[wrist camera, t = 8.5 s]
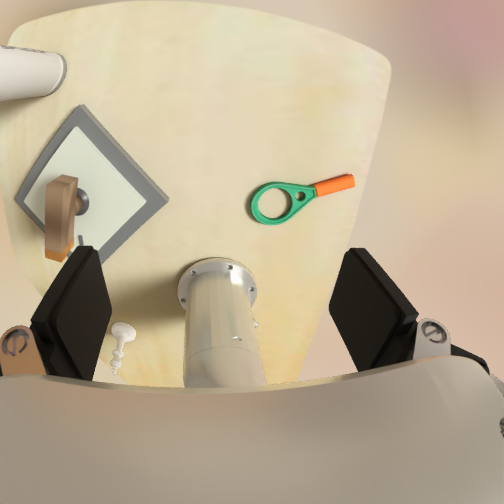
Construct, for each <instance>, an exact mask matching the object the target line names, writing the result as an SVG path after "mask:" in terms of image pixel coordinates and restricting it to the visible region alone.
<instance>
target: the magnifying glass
mask: <svg viewBox="0 0 504 504" xmlns="http://www.w3.org/2000/svg"><path fill="white" fill-rule="evenodd" d="M352 187H355V181H354V177H353V175H351V174H350V175H346V176H342V177H339V178H335V179H331V180H328V181H324V182H320V183H317V184H314V185H311V186H305V185H299V184H292V183H284V182H270V183H267V184H265V185H263V186H261V187H260V188H259V189H258V190H256V192H255V193H254V194H253V196H252V198H251V203H250V207H251V211H252V214H253V216H254V217H255V219H256V220H258V221H259V222H261V223H263V224H266V225H278V224H282V223H284V222H286V221H288V220H289V219H291V218H292V217H293V216H294V215H295V214H296V213H298V212H299V211H300V210H301V209H302V208H303V207H305V206H306V205H307V204H308V203H309V202H310V201H312V200H313V199H315V198H316V197H320V196H324V195H327V194H330V193H334V192H337V191H341V190H345V189H348V188H352ZM271 188H281V189H284V190H285V191H287V192H288V193H289V195H290V197H291V205H290V208H289V210H288V211H287V213H285V214H284V215H283V216H281V217H279V218H268V217H265V216H264V215H262V214H261V213H260V211H259V209H258V200H259V198H260V196H261V195H262V194H263V193H264V192H265V191H266V190H268V189H271ZM298 192H303V193H304V197H303V198H302V199H300V200H297V199H296V198H295V195H296V194H297V193H298Z"/></svg>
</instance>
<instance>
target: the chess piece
mask: <svg viewBox="0 0 504 504" xmlns="http://www.w3.org/2000/svg"><path fill="white" fill-rule="evenodd" d="M111 332H112V335H113V336H114V337H115V338H116V339H117V349H116V350H113V355H114V357H113V359H112V360H111V362H110V364H111V365H112V366H113V372H112V373H113V375H115V374H116V373H117V371H116V369H117V368H120V367H121V359H120V358H123V356H124V353H123V352H122V349H123V346H124V344H125V342H131V341H133V340H134V339H135V336H136V331H135V329H134V328H133V327H132V326H131V325H129V324H127V323H123V322H117V323H114V324H113V325H112V329H111Z"/></svg>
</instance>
